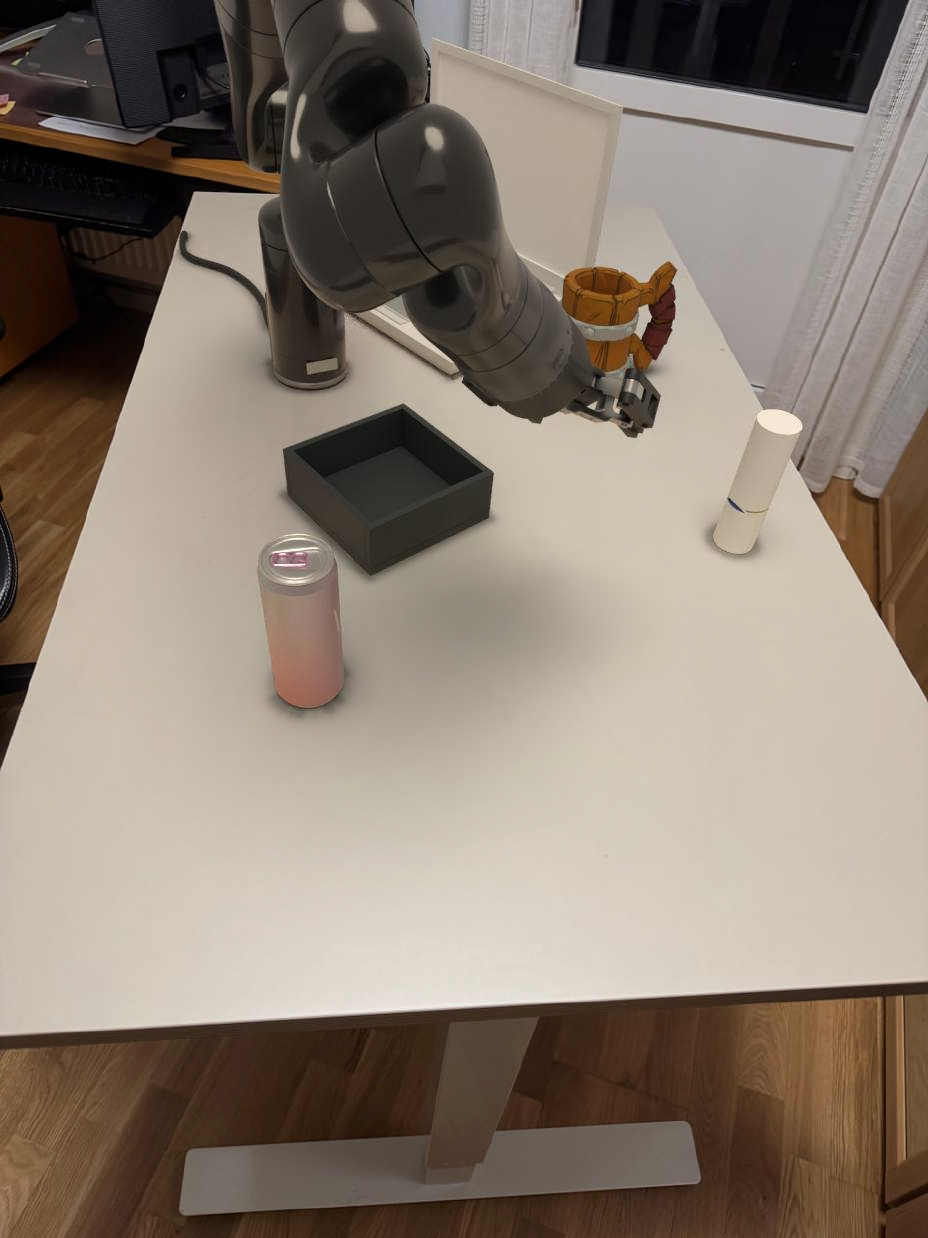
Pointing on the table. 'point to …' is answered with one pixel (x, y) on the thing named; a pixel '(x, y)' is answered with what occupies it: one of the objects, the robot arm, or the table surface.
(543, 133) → the laptop
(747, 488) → the tube
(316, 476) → the bin
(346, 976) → the table surface
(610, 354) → the mug
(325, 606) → the beverage can
